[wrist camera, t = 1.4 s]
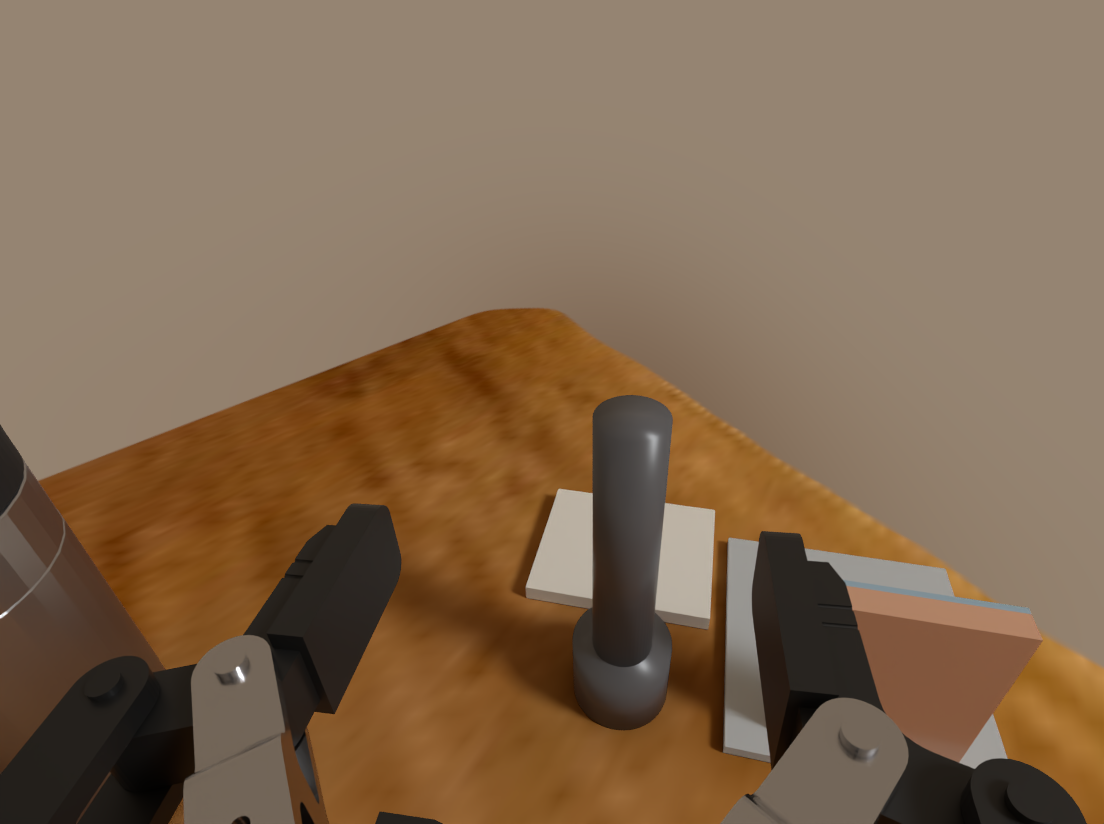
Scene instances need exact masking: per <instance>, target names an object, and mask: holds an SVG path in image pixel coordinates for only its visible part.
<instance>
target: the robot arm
mask: <svg viewBox="0 0 1104 824" xmlns="http://www.w3.org/2000/svg"><path fill="white" fill-rule="evenodd" d="M400 570H401V554H400V550H399V546H398V542H397V538H396V534H395V531H394V527H393V523H392V519H391V515H390V512H389V509H388V508H387V507H386V506H384V505H369V504H351V505H350V506H349V507H348V508H347V509H346V511H345V512H344V514H343V515H342V517H341V519H340V520H339V522H338V523H337V525H336V526H335V525H327V526H325V527H324V528H323V529H322V530H320V531H319V532H318V533H317V534H315V535H314V536H313V537H312V538H310V539H309V540H308V541H307V542H306V544H305V545H304V547H303V548H302V550H301V551H300V553H299V554H298V556H297V557H296V558H295V563H292V564H291V566H290V567H289V569H288V570H287V572H286V573H285V577H284V578H282V579H281V581H280V582H279V583H278V585H277V586H276V588H275V589H274V591H273V592H272V594H271V595H270V597H269V598H268V600H267V601H266V603H265V604H264V605H263V607H262V608H261V610H260V611H259V613H258V614H257V616H256V617H255V619H254V620H253V622H252V623H251V625H250V626H249V628H248V629H247V630H246V632H245V633H244V634H243V636H238V637H234V638H231V639H228V640H226V641H224V642H222V643H220V644H218V645H217V646H215V647H214V648H212V649H211V650H210V651H209V652H207V653H206V654H205V655H204V656H203V657H202V659H201V660H200V661H199V662H198V664H194V665H189V666H184V667H178V668H173V669H168V670H166V669H165V668H164V666H163V665H162V663H161V662H160V660H159V658H158V657H157V655H156V654H155V652H154V651H153V649H152V648H151V646H150V645H149V644H148V642H147V641H146V639H145V638H144V636H143V635H142V633H141V632H140V630H139V629H138V627H137V626H136V624H135V623H134V621H133V620H132V618H131V617H130V616H129V614H128V613H127V611H126V610H125V608H124V607H123V605H122V604H121V602H120V601H119V599H118V598H117V596H116V595H115V593H114V592H113V590H112V589H111V587H110V586H109V585H108V583H107V582H106V580H105V579H104V577H103V576H102V574H101V573H100V571H99V570H98V568H97V567H96V565H95V564H94V562H93V561H92V559H91V558H90V557H89V555H88V554H87V552H86V551H85V549H84V548H83V546H82V545H81V543H80V542H79V540H78V539H77V537H76V536H75V534H74V533H73V531H72V530H71V529H70V527H69V526H68V524H67V523H66V521H65V520H64V518H63V517H62V515H61V514H60V512H59V511H58V510H57V509H56V507H55V506H54V504H53V503H52V501H51V500H50V498H49V497H48V495H47V494H46V492H45V491H44V489H43V488H42V486H41V485H40V483H39V482H38V481H37V479H36V478H35V476H34V475H33V473H32V472H31V470H30V469H29V467H28V466H27V465H26V463H25V461H24V460H23V458H22V457H21V455H20V453H19V452H18V450H17V449H16V448H15V446H14V445H13V443H12V442H11V440H10V439H9V437H8V436H7V435H6V433H5V431H4V430H3V428H2V427H1V425H0V824H168V823H169V821H170V820H171V818H172V816H173V814H174V812H175V811H176V809H177V807H178V805H179V804H180V802H181V800H182V798H183V800H184V824H329V821H328V818H327V814H326V810H325V806H324V801H323V796H322V792H321V787H320V782H319V778H318V773H317V768H316V764H315V759H314V754H313V750H312V745H311V740H310V736H309V732H308V729H307V725H308V723H309V721H310V719H311V717H312V715H313V713H314V712H321V713H330V714H335V712H336V710H337V708H338V706H339V704H340V701H341V699H342V697H343V695H344V693H345V691H346V689H347V687H348V685H349V683H350V681H351V678H352V676H353V674H354V672H355V670H356V668H357V666H358V664H359V662H360V660H361V658H362V655H363V653H364V651H365V649H366V647H367V645H368V643H369V641H370V639H371V637H372V634H373V632H374V630H375V628H376V626H377V624H378V622H379V620H380V618H381V616H382V614H383V611H384V609H385V607H386V605H387V603H388V601H389V599H390V597H391V595H392V593H393V591H394V588H395V586H396V584H397V582H398V579H399V575H400ZM752 616H753V624H754V632H755V640H756V648H757V656H758V664H759V672H760V680H761V688H762V697H763V705H764V713H765V721H766V729H767V737H768V745H769V753H770V761H771V769H772V771H771V772H770V774H769V775H768V776H767V778H766V779H765V780H764V782H763V783H762V784H761V786H760V787H759V788H758V790H757V791H756V792H755V793H754V794H752V795H749V794H746V795H744V796H743V797H742V798H741V799H740V800H739V801H738V802H737V803H736V804H735V805H734V807H733V808H732V809H731V810H730V812H729V813H728V814H727V816H726V817H725V818H724V820H723V821H722V822H721V824H1087V823H1086V821H1085V819H1084V816H1083V814H1082V813H1081V811H1080V809H1079V807H1078V806H1077V804H1076V803H1075V801H1074V800H1073V799H1072V797H1071V796H1070V795H1069V794H1068V793H1067V792H1066V791H1065V790H1064V789H1063V788H1062V787H1061V786H1060V785H1059V784H1058V783H1057V782H1056V781H1054V780H1053V779H1052V778H1050V777H1049V776H1048V775H1046V774H1045V773H1043V772H1041V771H1040V770H1038V769H1036V768H1034V767H1032V766H1030V765H1028V764H1025V763H1022V762H1020V761H1016V760H1012V759H1004V758H996V759H990V760H986V761H984V762H982V763H981V764H979V765H978V766H977V767H976V768H975V769H974V768H971V767H969V766H966V765H964V764H961V763H959V762H956V761H954V760H951V759H949V758H946V757H944V756H941V755H939V754H936V753H934V752H932V751H929V750H927V749H925V748H923V747H921V746H920V745H918V744H916V743H915V742H913V741H912V740H911V739H909V738H908V737H906V736H905V735H904V734H903V733H902V732H901V731H900V729H899V727H898V726H897V725H896V724H895V723H894V721H893V720H892V719H891V718H890V717H889V716H887V715H886V713H885V711H884V709H883V707H882V705H881V702H880V700H879V696H878V693H877V689H876V686H875V683H874V679H873V676H872V672H871V669H870V665H869V662H868V658H867V655H866V652H865V648H864V645H863V641H862V638H861V634H860V631H859V630H858V624H857V621H856V617H855V614H854V611H852V603H851V600H850V597H849V593H848V590H847V586H846V583H845V582H844V581H843V579H842V578H841V577H840V576H839V574H838V573H837V572H836V571H835V570H834V568H833V567H832V566H831V565H830V563H829V562H819V561H807V556H806V552H805V548H804V544H803V540H802V537H801V535H800V534H797V533H781V532H766V531H762V532H761V534H760V538H759V544H758V551H757V557H756V564H755V570H754V577H753V583H752ZM375 824H442V823H440V822H438V821H436V820H433V819H426V818H420V817H413V816H406V815H400V814H393V813H386V812H379V815H378V818H377V820H376V823H375Z"/></svg>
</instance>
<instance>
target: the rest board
mask: <svg viewBox="0 0 1104 824" xmlns="http://www.w3.org/2000/svg"><path fill="white" fill-rule="evenodd" d="M714 520H715V510H711V509H703V508H696V507H689V506H681V505H674V504H667V503H665V508H664V519H663V530H662V540H661V551H660V562H659V573H658V584H657V594H656V605H655V613H656V614H657V615H658V616H659V617H660V618H661V619H662V620H663V621H664V622H667V623H673V624H679V625H685V626H690V627H696V628H702V629H707V630H708V627H709V621H710V607H711V585H712V563H713V542H714ZM592 566H593V493H586V492H579V491H571V490H564V489H558V492H557V495H556V498H555V501H554V504H553V507H552V510H551V513H550V516H549V519H548V522H547V525H546V528H545V531H544V534H543V537H542V540H541V543H540V546H539V549H538V552H537V555H536V558H535V561H534V564H533V567H532V570H531V572H530V575H529V578H528V581H527V584H526V598H530V599H536V600H542V601H547V602H553V603H559V604H564V605H570V606H576V607H582V608H587V609H590V608H592Z"/></svg>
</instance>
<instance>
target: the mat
mask: <svg viewBox="0 0 1104 824" xmlns="http://www.w3.org/2000/svg"><path fill="white" fill-rule="evenodd" d="M758 544H759V542H756V541H749V540H742V539H735V538H729V539H728V553H727V597H726V642H725V686H724V730H723V753H728V754H732V755H737V756H742V757H746V758H751V759H756V760H761V761H765V762H770V763H771V761H770V753H769V745H768V737H767V729H766V721H765V713H764V705H763V697H762V688H761V680H760V672H759V664H758V656H757V648H756V640H755V632H754V624H753V616H752V583H753V577H754V570H755V564H756V557H757V551H758ZM805 552H806V556H807V561H819V562H829V563H830V565H831V566H832V567H833V568H834V570H835V571H836V572H837V573H838V574H839V576H840V577H841V578H842V579H843V580H848V581H854V582H861V583H868V584H874V585H881V586H887V587H894V588H900V589H907V590H914V591H920V592H927V593H933V594H940V595H946V596H953V597H954V594H953V591H952V588H951V584H950V581H949V578H948V575H947V572H946V569H943V568H936V567H929V566H922V565H915V564H908V563H902V562H895V561H888V560H881V559H874V558H867V557H860V556H853V555H846V554H839V553H832V552H825V551H818V550H811V549H805ZM996 758H1004V759H1007V756H1006V752H1005V749H1004V746H1003V743H1002V740H1001V737H1000V734H999V731H998V728H997V725H996V722H995V719H994V716H993V714H992V715H991V717H990V718H989V720H988V721H987V723H986V724H985V726H984V727H983V728H982V730H981V731H980V733H979V734H978V736H977V737H976V739H975V740H974V742H973V743H972V745H971V746H970V747H969V749H968V750H967V752H966V753H965V755H964V756H963V758H962V759H961V761H960V762H959V763H961V764H964V765H966V766H969V767H971V768H974V769H975V768H976V767H977V766H978V765H979V764H981V763H982V762H984V761H986V760H990V759H996Z"/></svg>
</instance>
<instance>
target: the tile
mask: <svg viewBox="0 0 1104 824" xmlns="http://www.w3.org/2000/svg"><path fill="white" fill-rule="evenodd" d="M843 581H844V582H845V583H846V586H847V590H848V593H849V597H850V600H851V603H852V611H854V614H855V617H856V621H857V624H858V630H859V631H860V634H861V638H862V641H863V645H864V648H865V652H866V655H867V658H868V662H869V665H870V669H871V672H872V676H873V679H874V683H875V686H876V689H877V693H878V696H879V700H880V702H881V705H882V707H883V709H884V711H885V713H886V715H887V716H889V717H890V718H891V719H892V720H893V721H894V723H895V724H896V725H897V726H898V727H899V729H900V731H901V732H902V733H903V734H904V735H905V736H906V737H908V738H909V739H911V740H912V741H913V742H915V743H916V744H918V745H920V746H921V747H923V748H925V749H927V750H929V751H932V752H934V753H936V754H939V755H941V756H944V757H946V758H949V759H951V760H954V761H956V762H960V761H961V759H962V758H963V756H964V755H965V753H966V752H967V750H968V749H969V747H970V746H971V745H972V743H973V742H974V740H975V739H976V737H977V736H978V734H979V733H980V731H981V730H982V728H983V727H984V726H985V724H986V723H987V721H988V720H989V718H990V717H991V715H992V714H993V712H994V711H995V709H996V708H997V707H998V705H999V704H1000V702H1001V701H1002V699H1003V698H1004V696H1005V695H1006V693H1007V692H1008V691H1009V689H1010V688H1011V686H1012V685H1013V683H1014V682H1015V680H1016V679H1017V677H1018V676H1019V674H1020V673H1021V672H1022V670H1023V669H1024V667H1025V666H1026V664H1027V663H1028V661H1029V660H1030V658H1031V657H1032V655H1033V654H1034V653H1035V651H1036V650H1037V648H1038V647H1039V645H1040V644H1041V642H1042V641H1043V640H1042V637H1041V635H1040V633H1039V630H1038V628H1037V626H1036V623H1035V621H1034V619H1033V617H1032V614H1031V612H1030V610H1029V608H1025V607H1019V606H1012V605H1006V604H999V603H992V602H986V601H979V600H973V599H966V598H960V597H953V596H946V595H940V594H933V593H927V592H920V591H914V590H907V589H900V588H894V587H887V586H881V585H874V584H868V583H861V582H854V581H848V580H843Z"/></svg>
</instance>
